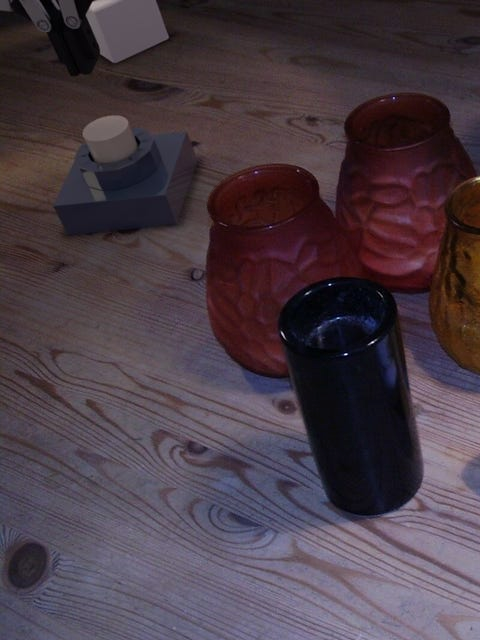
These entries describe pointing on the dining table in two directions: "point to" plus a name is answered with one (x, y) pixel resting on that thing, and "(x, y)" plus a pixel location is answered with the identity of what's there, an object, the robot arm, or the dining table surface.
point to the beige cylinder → (110, 139)
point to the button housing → (128, 186)
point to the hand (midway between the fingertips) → (85, 66)
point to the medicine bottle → (126, 27)
